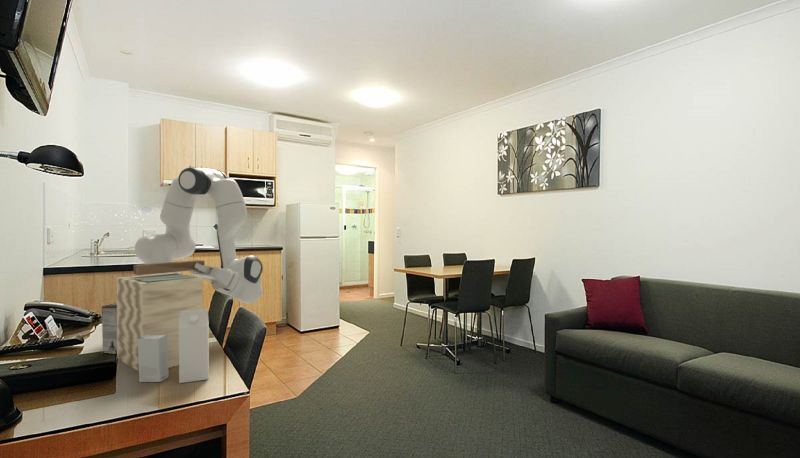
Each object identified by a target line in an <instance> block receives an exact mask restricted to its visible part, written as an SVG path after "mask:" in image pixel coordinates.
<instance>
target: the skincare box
mask: <svg viewBox="0 0 800 458" xmlns="http://www.w3.org/2000/svg"><path fill="white" fill-rule="evenodd" d="M137 341H138V360H139V371H138V377H139V378H138V379H139V383H161V382H163V381H165V380H167V379H168V378H169V376H170V375H169V368H168V348H167V335H146V336H143V337H141V338H139V339H138V340H137Z"/></svg>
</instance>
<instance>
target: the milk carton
mask: <svg viewBox="0 0 800 458" xmlns="http://www.w3.org/2000/svg"><path fill="white" fill-rule="evenodd" d="M209 320H210V319H209V309H208V308H204V309H200V310H187V311H180V319H179V365H178V383H179V384H185V383H190V382H199V381H206V380H209V375H210V373H209V372H210V353H209V352H210V346H209V345H210V343H209V342H210V341H209V339H210V337H209V332H210V331H209V330H210V329H209V328H210V327H209V324H210V323H209Z"/></svg>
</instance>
